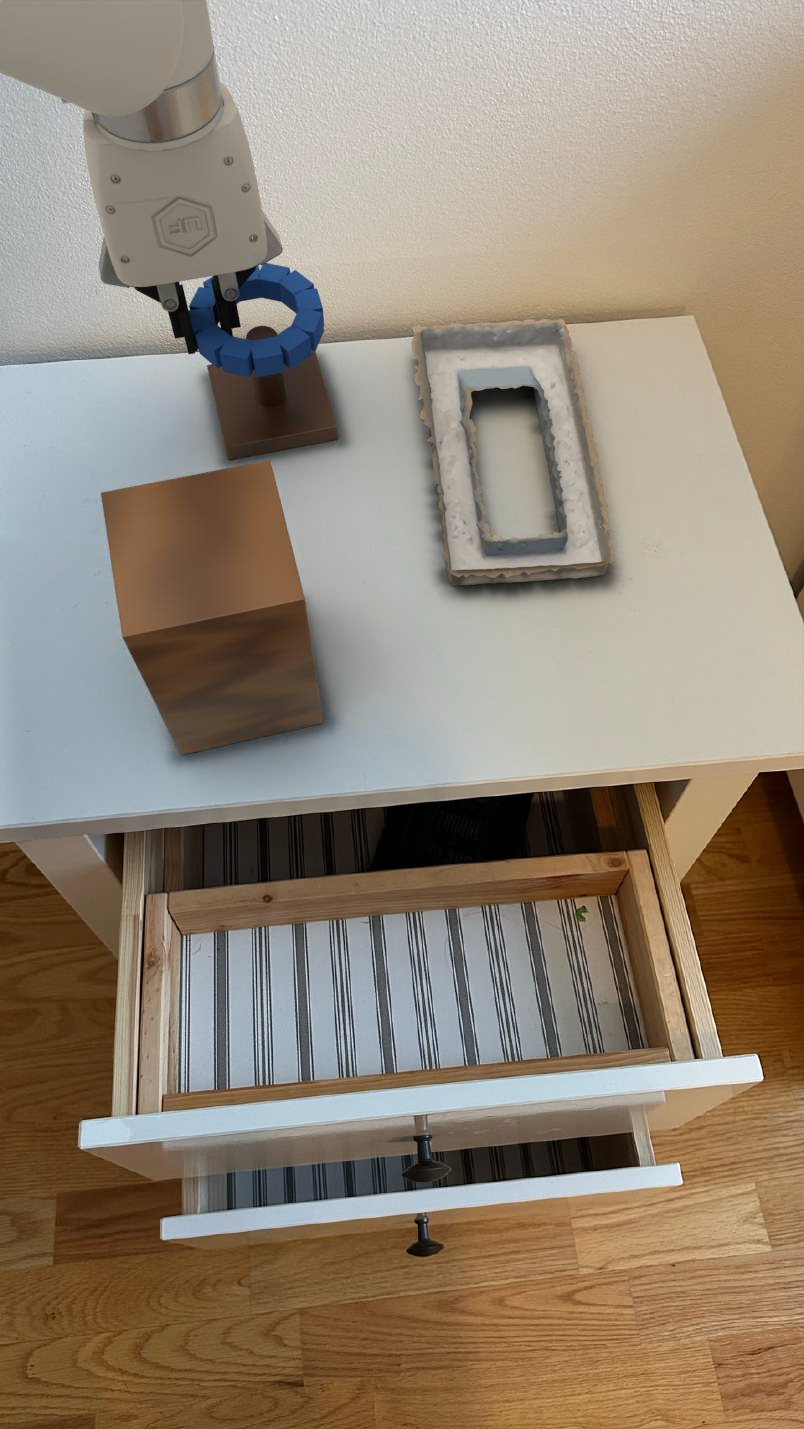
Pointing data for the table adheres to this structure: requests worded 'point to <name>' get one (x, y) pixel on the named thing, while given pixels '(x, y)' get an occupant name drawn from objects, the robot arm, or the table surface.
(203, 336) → the ring
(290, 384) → the post
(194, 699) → the stand
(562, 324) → the picture frame
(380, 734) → the table surface
